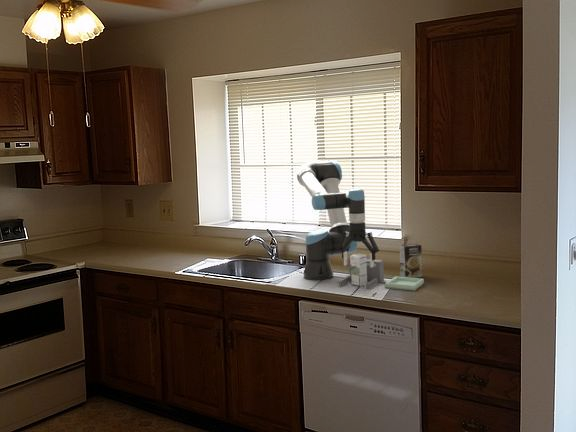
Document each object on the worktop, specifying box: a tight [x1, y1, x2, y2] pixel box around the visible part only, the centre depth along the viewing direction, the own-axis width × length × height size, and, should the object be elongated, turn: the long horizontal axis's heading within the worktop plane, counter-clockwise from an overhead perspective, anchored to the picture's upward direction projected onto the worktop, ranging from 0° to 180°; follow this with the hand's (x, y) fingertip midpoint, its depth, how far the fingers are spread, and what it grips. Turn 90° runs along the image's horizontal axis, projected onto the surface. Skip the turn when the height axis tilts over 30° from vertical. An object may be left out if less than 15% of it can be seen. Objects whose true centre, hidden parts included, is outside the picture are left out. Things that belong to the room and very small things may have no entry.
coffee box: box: [399, 243, 423, 278], centre depth 301 cm, size 9×6×16 cm
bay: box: [337, 258, 385, 290], centre depth 293 cm, size 16×19×10 cm
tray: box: [384, 276, 425, 292], centre depth 285 cm, size 14×14×2 cm
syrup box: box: [349, 253, 368, 287], centre depth 290 cm, size 6×6×14 cm
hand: (358, 266), depth 290 cm, fingers open, 13 cm apart
